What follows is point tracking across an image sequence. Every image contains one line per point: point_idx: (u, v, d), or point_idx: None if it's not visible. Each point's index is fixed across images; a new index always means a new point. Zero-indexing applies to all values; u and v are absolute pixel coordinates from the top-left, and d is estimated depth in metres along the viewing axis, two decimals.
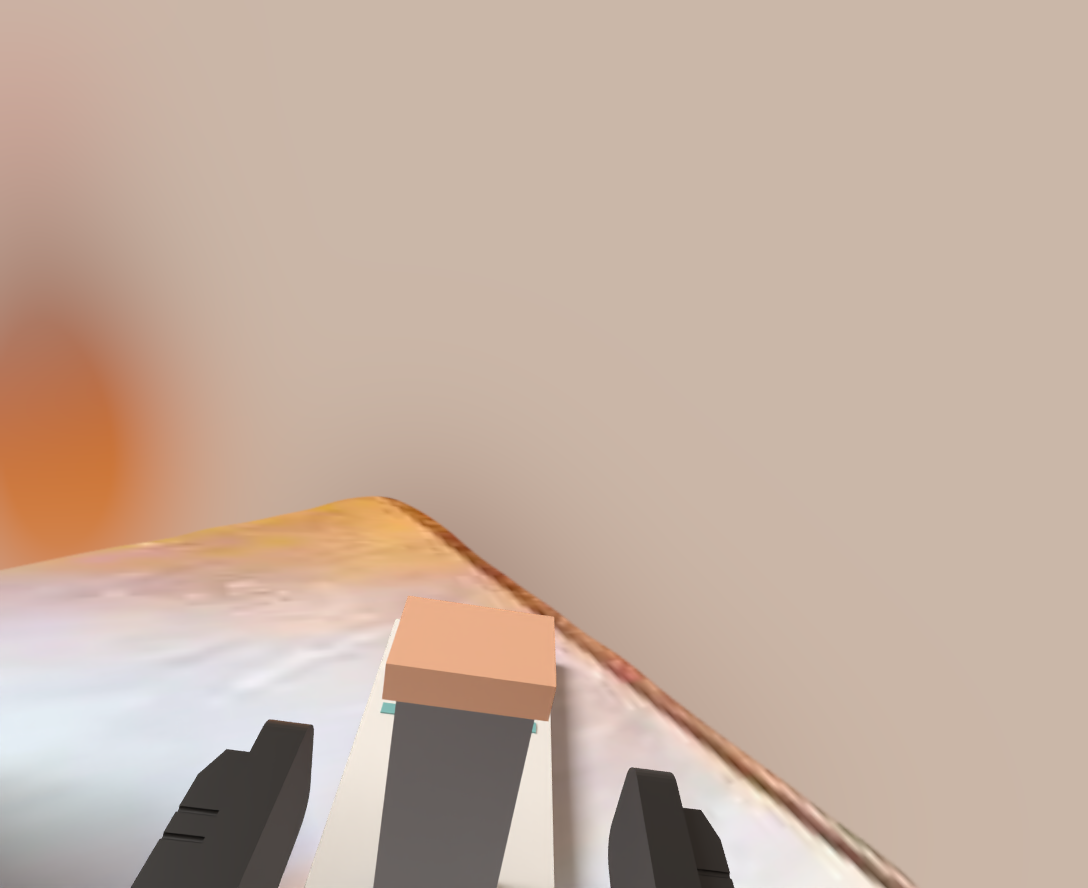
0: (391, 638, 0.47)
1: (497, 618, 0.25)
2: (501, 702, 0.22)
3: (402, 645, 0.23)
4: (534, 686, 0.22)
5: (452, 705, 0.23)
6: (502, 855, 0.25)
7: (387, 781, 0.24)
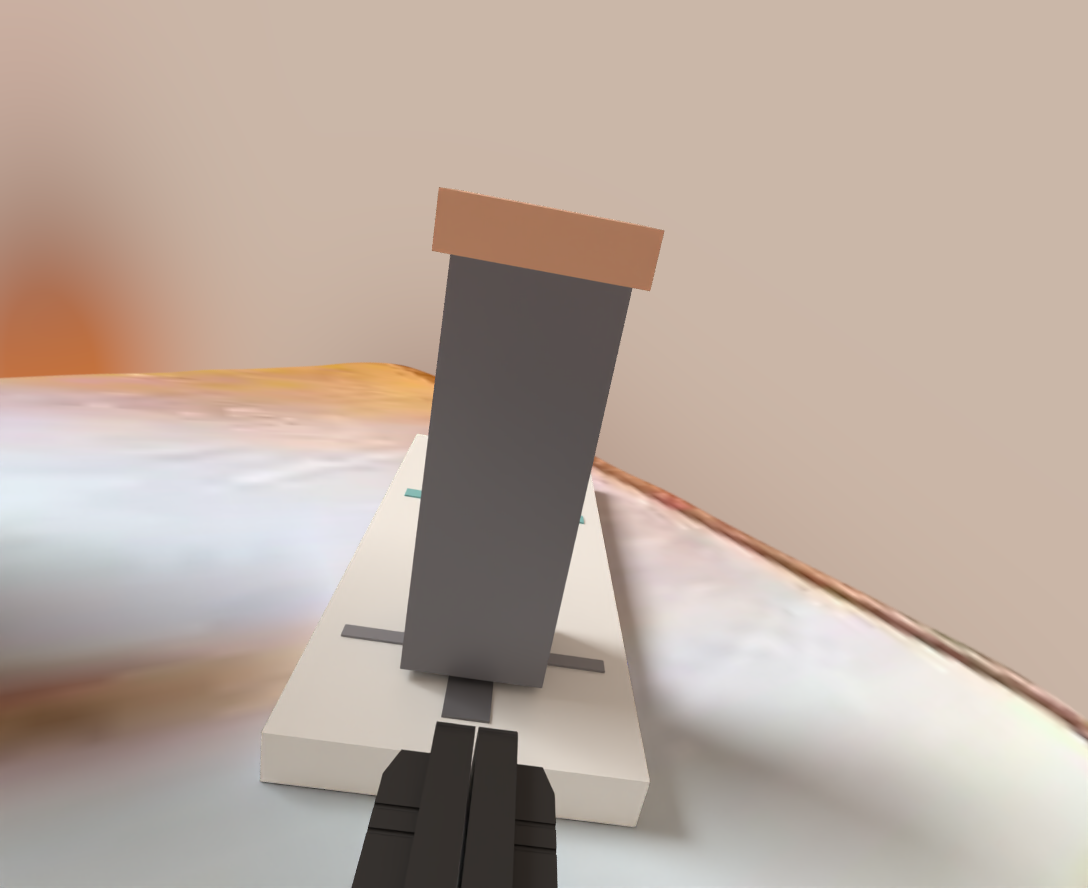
0: (413, 446, 0.41)
1: None
2: (590, 257, 0.17)
3: (457, 190, 0.17)
4: (634, 230, 0.17)
5: (525, 261, 0.17)
6: (578, 516, 0.20)
7: (435, 392, 0.18)
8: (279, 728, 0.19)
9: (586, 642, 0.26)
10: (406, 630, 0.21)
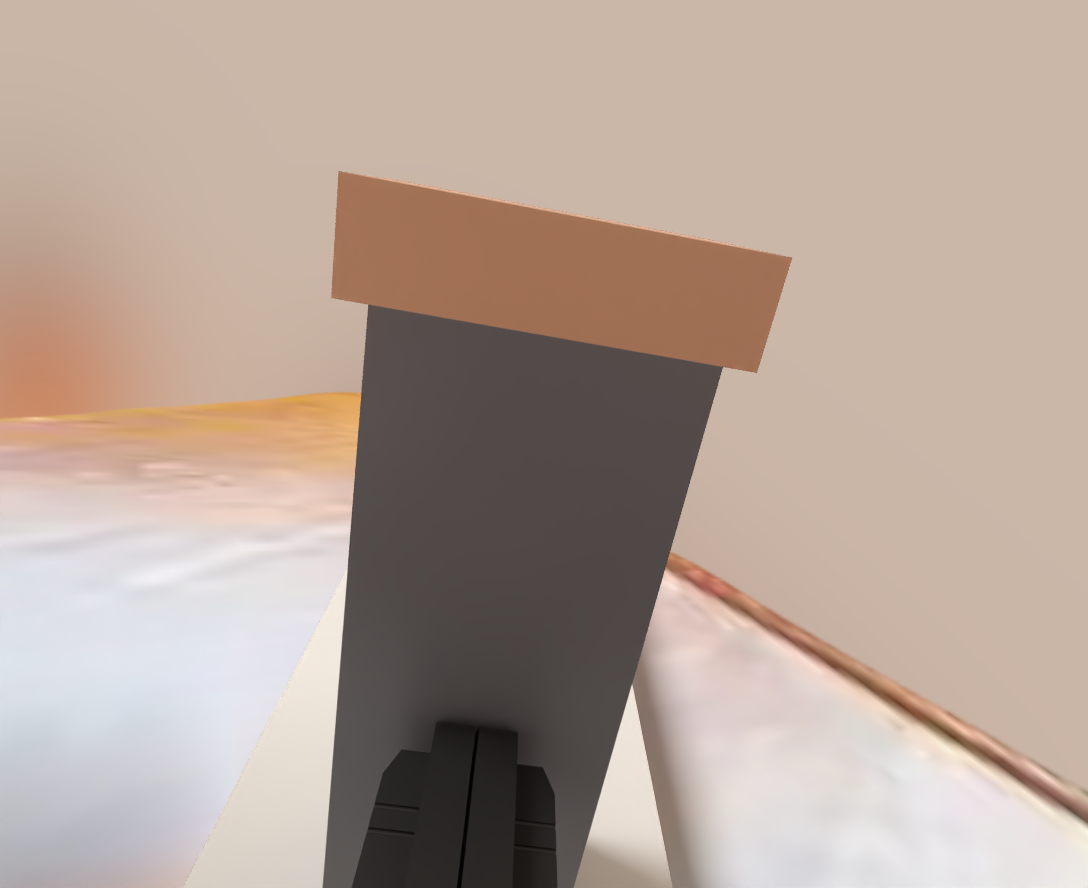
0: None
1: None
2: (643, 310, 0.09)
3: (385, 179, 0.09)
4: (733, 256, 0.08)
5: (515, 318, 0.09)
6: (611, 744, 0.11)
7: (352, 551, 0.10)
8: None
9: None
10: None
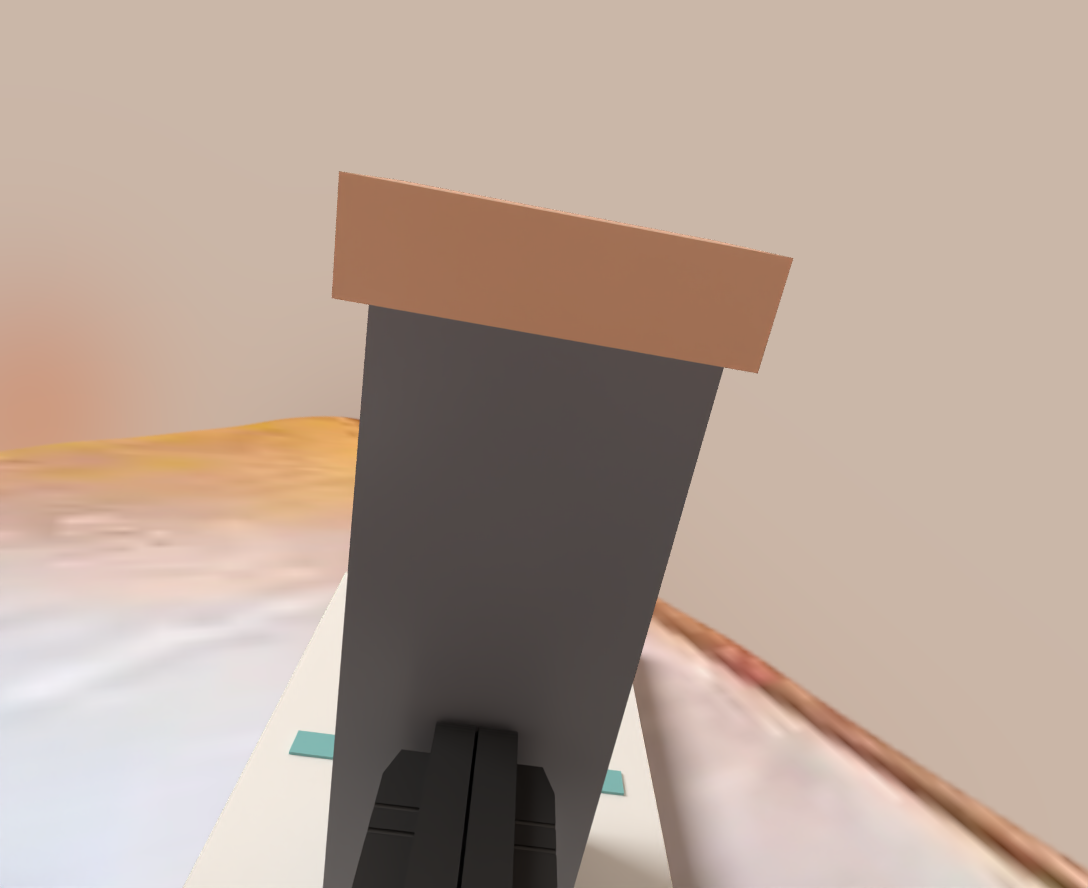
0: (333, 605, 0.25)
1: None
2: (644, 310, 0.09)
3: (386, 179, 0.09)
4: (734, 257, 0.08)
5: (516, 318, 0.09)
6: (611, 745, 0.11)
7: (352, 552, 0.10)
8: None
9: None
10: None
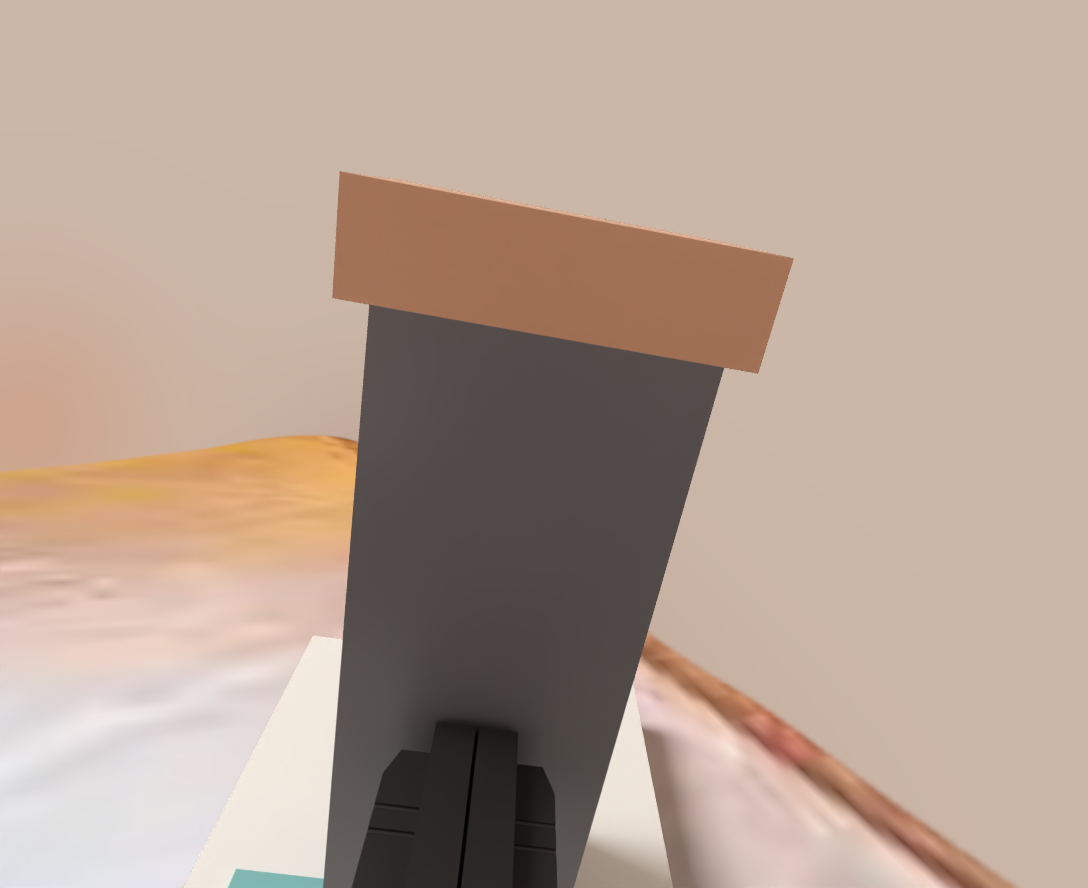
0: (295, 681, 0.21)
1: None
2: (644, 310, 0.09)
3: (386, 179, 0.09)
4: (734, 257, 0.08)
5: (516, 319, 0.09)
6: (611, 745, 0.11)
7: (352, 551, 0.10)
8: None
9: None
10: None
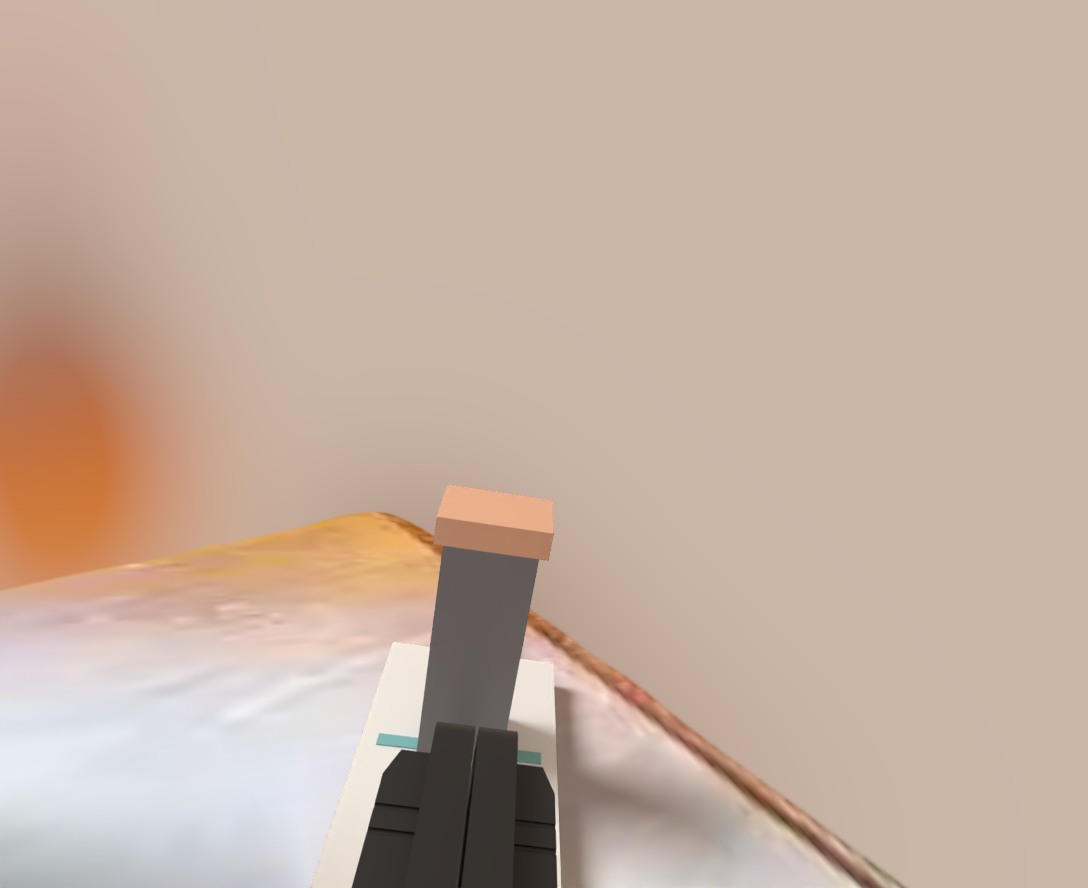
0: (388, 663, 0.44)
1: (511, 498, 0.35)
2: (515, 546, 0.32)
3: (446, 508, 0.33)
4: (538, 533, 0.32)
5: (482, 548, 0.33)
6: (517, 669, 0.35)
7: (435, 609, 0.34)
8: None
9: None
10: (420, 731, 0.37)
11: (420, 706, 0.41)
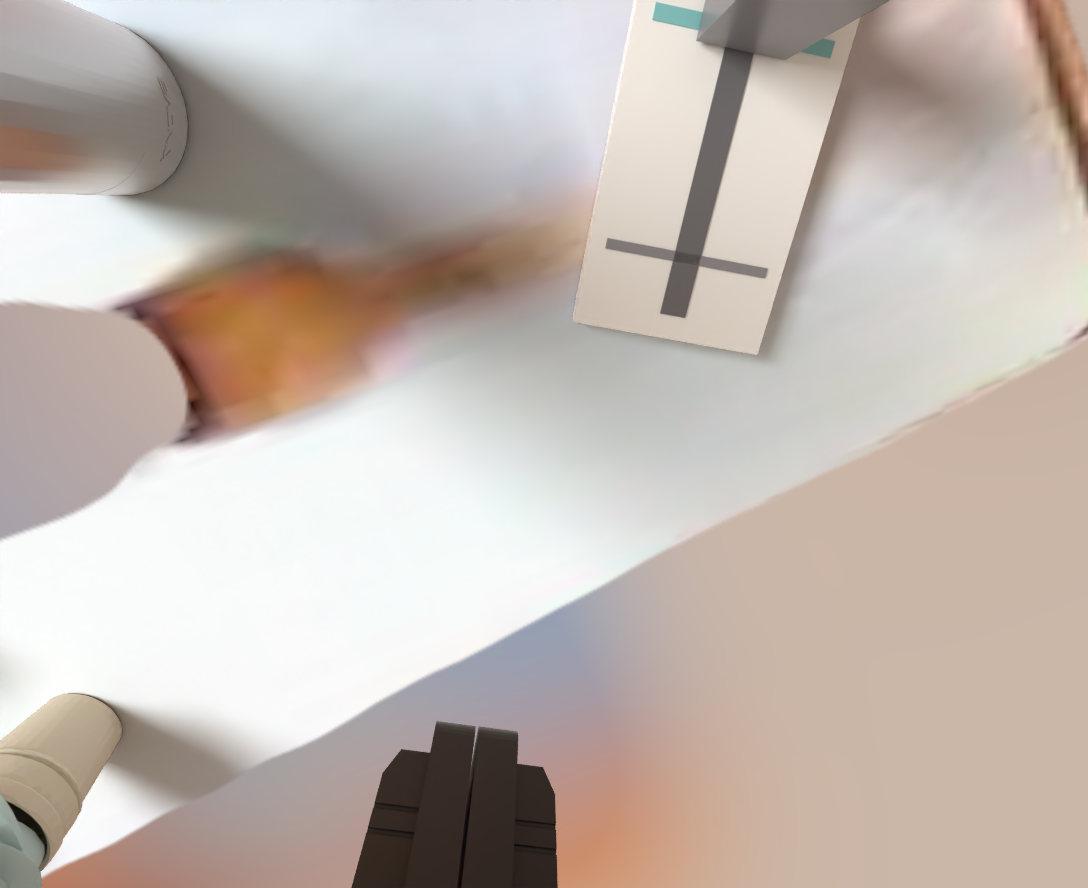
0: None
1: None
2: None
3: None
4: None
5: None
6: (840, 27, 0.28)
7: None
8: (581, 319, 0.40)
9: (763, 248, 0.38)
10: (704, 33, 0.32)
11: None
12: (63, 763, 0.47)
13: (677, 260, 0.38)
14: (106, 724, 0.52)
